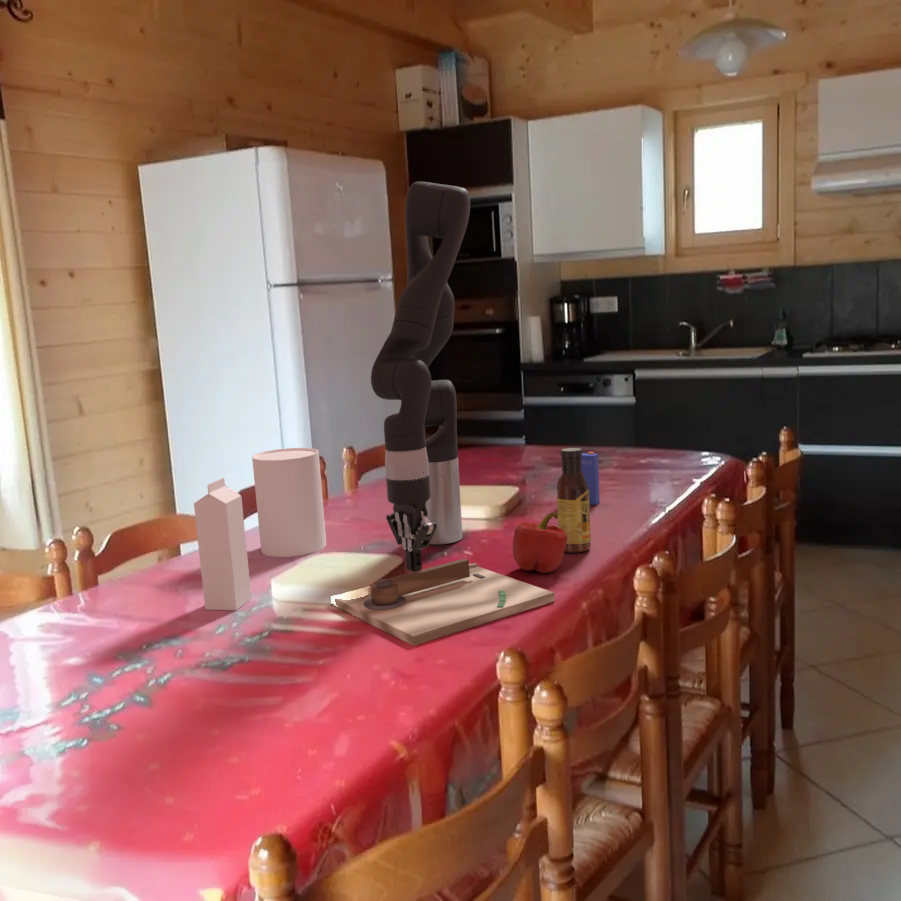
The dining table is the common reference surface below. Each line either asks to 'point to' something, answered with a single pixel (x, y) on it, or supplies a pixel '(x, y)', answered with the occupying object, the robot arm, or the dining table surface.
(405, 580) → the dial lever
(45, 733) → the dining table surface
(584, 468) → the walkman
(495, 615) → the dial board
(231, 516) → the milk
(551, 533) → the vegetable
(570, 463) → the sauce bottle
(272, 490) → the canister
